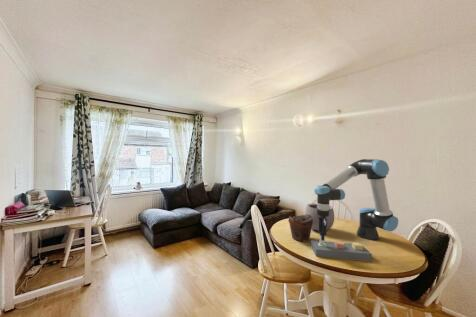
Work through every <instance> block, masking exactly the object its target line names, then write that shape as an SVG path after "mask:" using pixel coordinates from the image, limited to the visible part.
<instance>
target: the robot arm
mask: <svg viewBox="0 0 476 317" xmlns="http://www.w3.org/2000/svg"><path fill="white" fill-rule="evenodd" d="M389 171H390V167H389V164H388V163H387V162H386V161H385V160H383V159H376V158H375V159H373V158H372V159H369V158H368V159H367V158H366V159H365V158H364V159H359V160H355V161H354V162H352V163H350V164H349V165H348V166H346V168H345V169H344V170H343V171H341V172H340V173H338V174H337V175H335V176H334V177H332V178H331V179H330V180H328V181H326V182H325V183H323V184H322V185H316V186H315V187H314V194H315V195H317V197H316V198H317V199H316V200H317V203H315V204H316V205H317V208H318V209H317V215H319V216H320V217H318V219H319V231H318V232H319V241H320V245H324V241H325V239H326V238H325V236H326V235H327V230H326V229H327V224H328V223H327V222H326V221H327V219H326V217H327V216H329V206H330V201H343V200H344V199H345V198H346V193H345V191H344V190H343V189H341V188H339V187H341V186H343V184H345V183H346V182H348V181H349V180H351V179H352V178H354V177H358V176H360V175H366V179H368V180H369V181H370V186H371V191H372V192H371V193H372V197H373V203H374V207H375V208H374V207H362V208H360V209H359V226H358V228H357V231H356V236H358V237H359V238H362V239H366V240H371V241H377V240H378V241H379V238H380V237H379V232H378V229H381V230H383V231H387V232H393V231H395V230H396V229H397V228H398V226H399V219H398V217H396V215H394V212H393V210H391V209H390V204H389V199H388V194H387V189H386V184H385V179H386V178H387V175H388V174H389ZM377 228H378V229H377ZM325 242H326V241H325Z"/></svg>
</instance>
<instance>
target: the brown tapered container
mask: <svg viewBox="0 0 476 317" xmlns="http://www.w3.org/2000/svg"><path fill="white" fill-rule="evenodd" d="M287 222H288V223H289V227H290V232H291V238H292V239H293V240H295V241H298V242H307V241H309V240H310V237H311V233H312V232H311V231H312V225H313V218H312V216H311V215H305V214H301V215H296V216H294V215H292V216H291V215H289V217H288V219H287Z"/></svg>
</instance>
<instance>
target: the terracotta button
mask: <svg viewBox="0 0 476 317" xmlns="http://www.w3.org/2000/svg"><path fill="white" fill-rule="evenodd" d="M333 242H334V246H335V247H336V248H340V249H345V244H344V243H345V242H343V241H341V240H334V241H333Z"/></svg>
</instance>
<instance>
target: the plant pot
mask: <svg viewBox="0 0 476 317" xmlns="http://www.w3.org/2000/svg"><path fill="white" fill-rule="evenodd" d="M316 204H317V203H308V204H307V205H306V207H305V211H304V212H305V213H304V215H311V216H312V218H313V225H312V229H313V230H315V231H317V232H319V219H318V217H320V216H319V215H317V209H318V208H317V205H316ZM326 219H327V221H326V222H327V223H328V224H327V229H326V231H329V230H330V229H331V228H332V227H333V225H334V223H335V211H334V208H333V206H331V205H329V216H327V217H326ZM312 229H311V230H312Z"/></svg>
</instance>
